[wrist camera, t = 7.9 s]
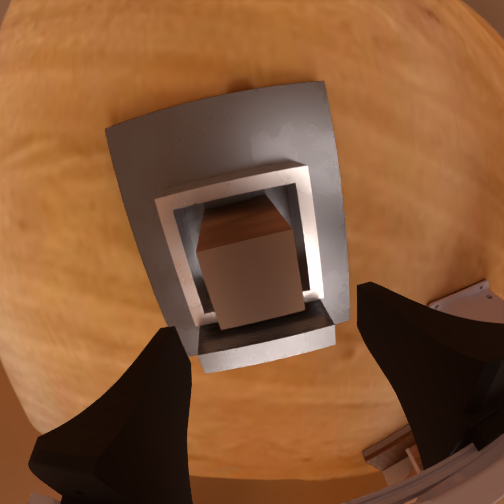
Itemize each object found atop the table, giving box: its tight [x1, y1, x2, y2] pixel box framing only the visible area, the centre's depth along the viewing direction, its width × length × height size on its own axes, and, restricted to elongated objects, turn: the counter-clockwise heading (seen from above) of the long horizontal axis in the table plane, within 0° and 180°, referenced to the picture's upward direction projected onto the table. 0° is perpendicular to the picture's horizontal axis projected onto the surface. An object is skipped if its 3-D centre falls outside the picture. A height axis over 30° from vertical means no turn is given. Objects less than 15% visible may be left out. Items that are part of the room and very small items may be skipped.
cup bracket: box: [105, 81, 350, 374], centre depth 17 cm, size 14×18×6 cm
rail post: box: [196, 195, 305, 330], centre depth 16 cm, size 4×4×7 cm
